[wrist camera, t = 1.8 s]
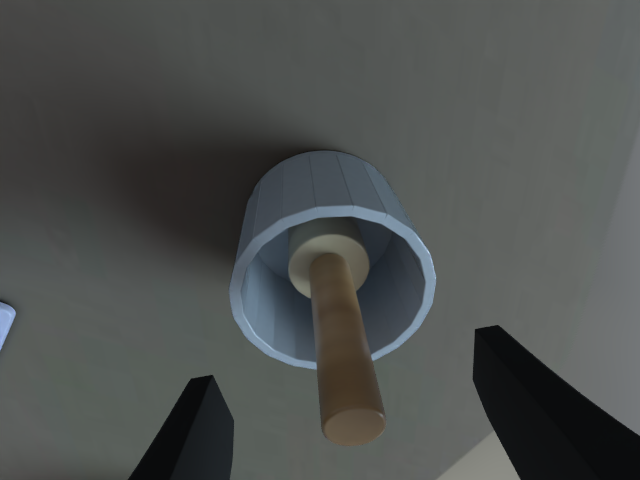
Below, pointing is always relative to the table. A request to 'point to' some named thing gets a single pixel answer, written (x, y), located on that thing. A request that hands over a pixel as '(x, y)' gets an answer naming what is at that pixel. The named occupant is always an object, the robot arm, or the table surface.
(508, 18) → the table surface
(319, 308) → the brush
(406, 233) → the blue pencil cup
